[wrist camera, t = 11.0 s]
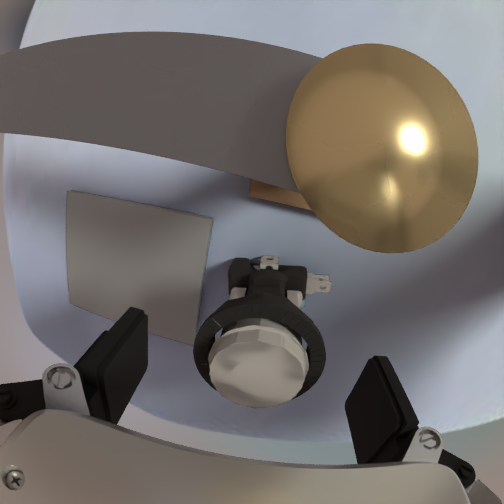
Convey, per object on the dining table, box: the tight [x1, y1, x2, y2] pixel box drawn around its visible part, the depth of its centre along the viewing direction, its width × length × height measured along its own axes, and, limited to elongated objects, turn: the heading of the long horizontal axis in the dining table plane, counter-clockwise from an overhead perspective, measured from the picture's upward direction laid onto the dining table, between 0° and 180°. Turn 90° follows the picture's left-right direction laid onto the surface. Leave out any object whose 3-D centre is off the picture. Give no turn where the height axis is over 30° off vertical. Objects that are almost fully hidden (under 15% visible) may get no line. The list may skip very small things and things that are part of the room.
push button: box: [193, 256, 331, 408], centre depth 15 cm, size 7×5×10 cm
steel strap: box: [0, 32, 478, 253], centre depth 5 cm, size 3×17×3 cm, turn 74°
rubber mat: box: [66, 191, 214, 345], centre depth 20 cm, size 12×10×1 cm
